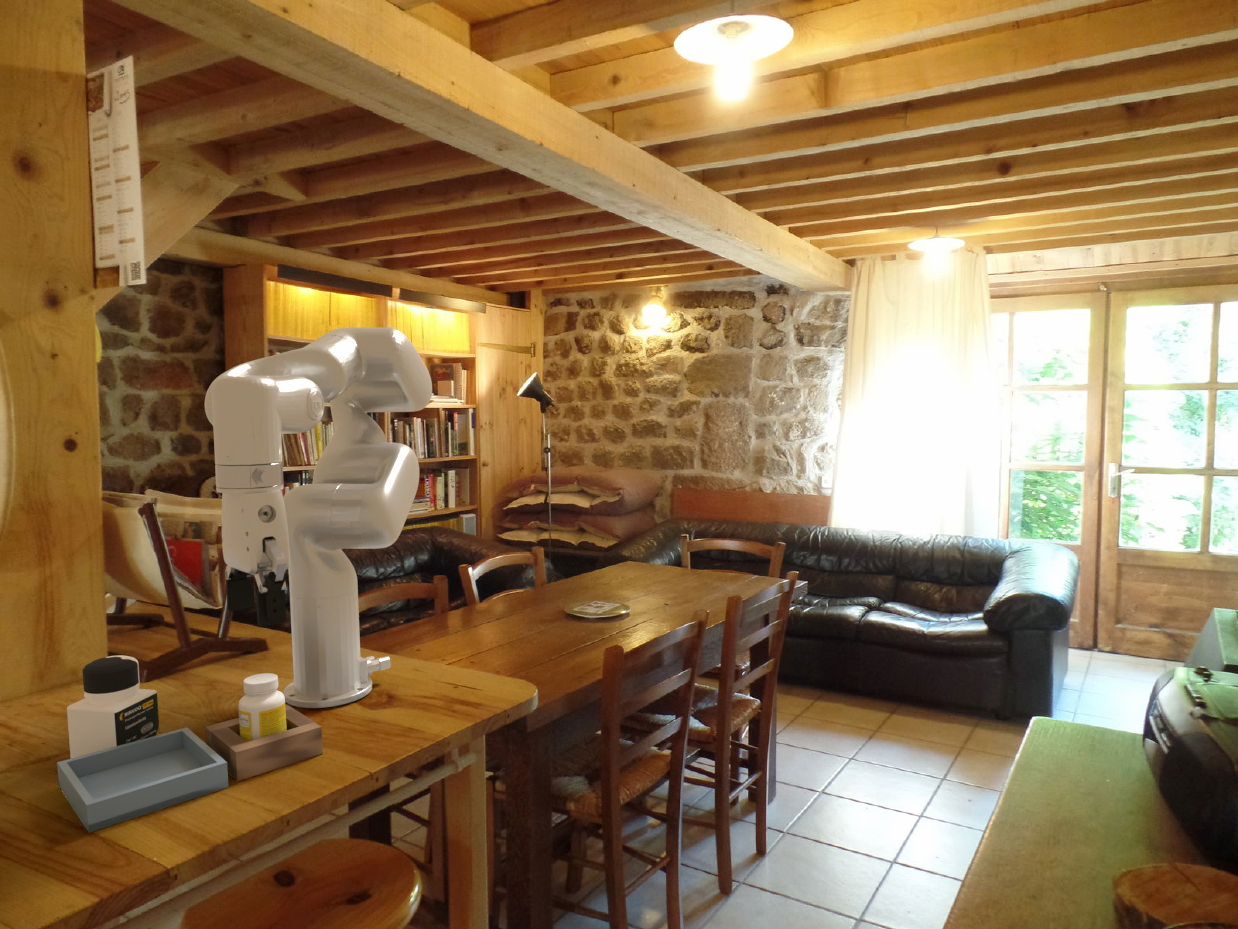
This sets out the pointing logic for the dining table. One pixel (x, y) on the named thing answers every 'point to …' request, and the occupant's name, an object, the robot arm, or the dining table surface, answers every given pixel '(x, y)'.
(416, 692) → the dining table surface
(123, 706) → the medicine bottle
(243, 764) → the small brown open box
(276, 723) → the supplement bottle
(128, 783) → the pin tray
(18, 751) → the dining table surface
